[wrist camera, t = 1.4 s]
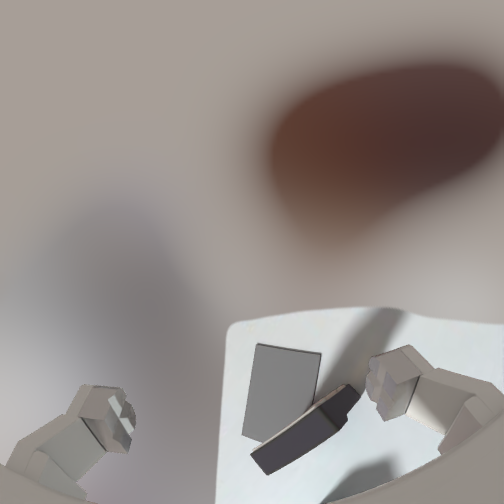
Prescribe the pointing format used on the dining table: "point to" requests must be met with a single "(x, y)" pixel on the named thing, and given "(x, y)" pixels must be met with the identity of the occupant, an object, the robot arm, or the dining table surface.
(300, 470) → the dining table surface
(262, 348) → the mat
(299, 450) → the dark grey lidded case
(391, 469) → the dining table surface
